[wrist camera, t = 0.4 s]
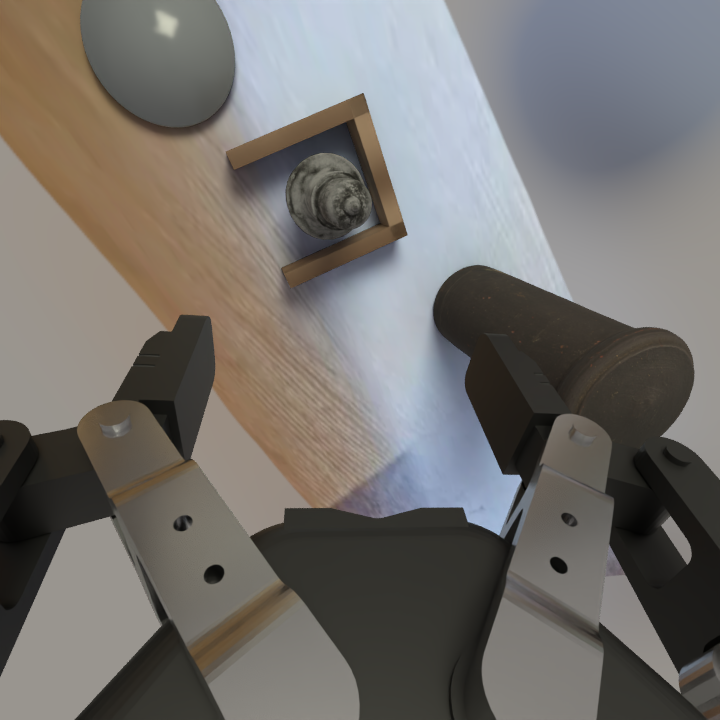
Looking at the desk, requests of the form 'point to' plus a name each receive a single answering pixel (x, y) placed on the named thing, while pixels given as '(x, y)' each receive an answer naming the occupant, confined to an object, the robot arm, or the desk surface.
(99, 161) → the desk surface
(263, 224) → the desk surface
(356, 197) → the stone finial
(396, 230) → the wooden arch
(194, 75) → the grey oval disc
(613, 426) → the container
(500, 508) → the desk surface
